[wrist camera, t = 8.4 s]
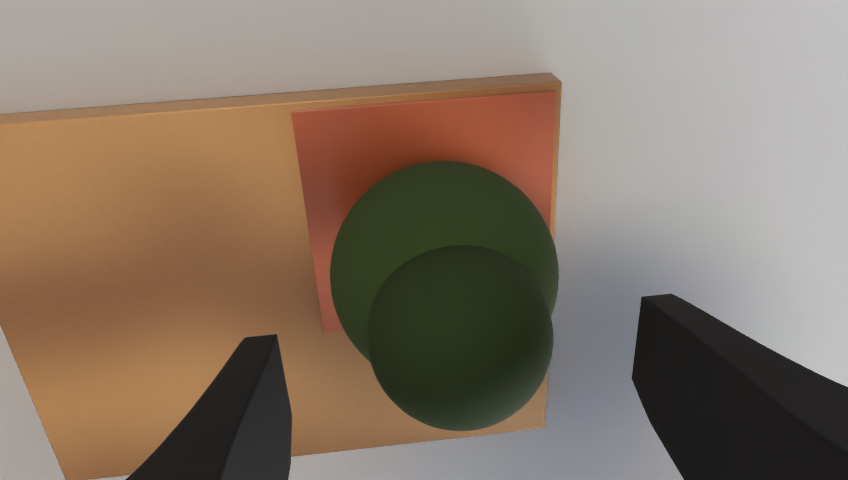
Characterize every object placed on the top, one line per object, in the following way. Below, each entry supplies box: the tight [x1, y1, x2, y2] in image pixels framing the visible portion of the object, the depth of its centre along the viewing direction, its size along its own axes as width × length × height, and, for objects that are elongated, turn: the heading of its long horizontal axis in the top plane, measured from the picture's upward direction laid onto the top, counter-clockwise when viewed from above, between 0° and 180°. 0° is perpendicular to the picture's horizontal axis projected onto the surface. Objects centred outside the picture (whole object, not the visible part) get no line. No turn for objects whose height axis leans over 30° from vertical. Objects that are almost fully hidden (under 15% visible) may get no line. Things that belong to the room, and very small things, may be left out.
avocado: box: [330, 161, 559, 431], centre depth 15 cm, size 5×5×7 cm
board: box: [0, 73, 561, 480], centre depth 20 cm, size 12×16×1 cm
